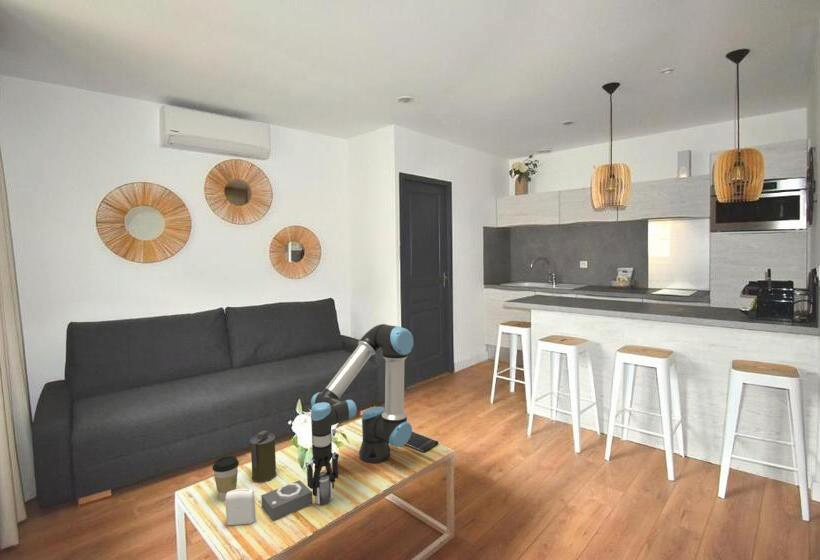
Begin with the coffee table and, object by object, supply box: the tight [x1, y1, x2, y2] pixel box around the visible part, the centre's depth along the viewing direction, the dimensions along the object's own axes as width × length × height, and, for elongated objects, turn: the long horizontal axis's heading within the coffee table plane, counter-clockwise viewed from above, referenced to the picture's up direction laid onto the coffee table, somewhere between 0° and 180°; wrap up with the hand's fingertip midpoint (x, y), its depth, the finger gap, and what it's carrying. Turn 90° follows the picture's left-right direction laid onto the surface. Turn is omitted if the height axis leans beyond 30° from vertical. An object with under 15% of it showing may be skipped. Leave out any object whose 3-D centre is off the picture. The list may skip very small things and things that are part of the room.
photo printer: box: [224, 488, 257, 526], centre depth 155 cm, size 10×4×12 cm, turn 96°
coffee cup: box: [212, 455, 240, 502], centre depth 170 cm, size 10×10×15 cm
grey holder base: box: [260, 480, 313, 522], centre depth 164 cm, size 16×11×6 cm
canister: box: [249, 429, 277, 484], centre depth 185 cm, size 11×10×20 cm
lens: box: [318, 470, 331, 506], centre depth 166 cm, size 5×5×11 cm
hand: (323, 499), depth 167 cm, fingers closed on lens, 5 cm apart
